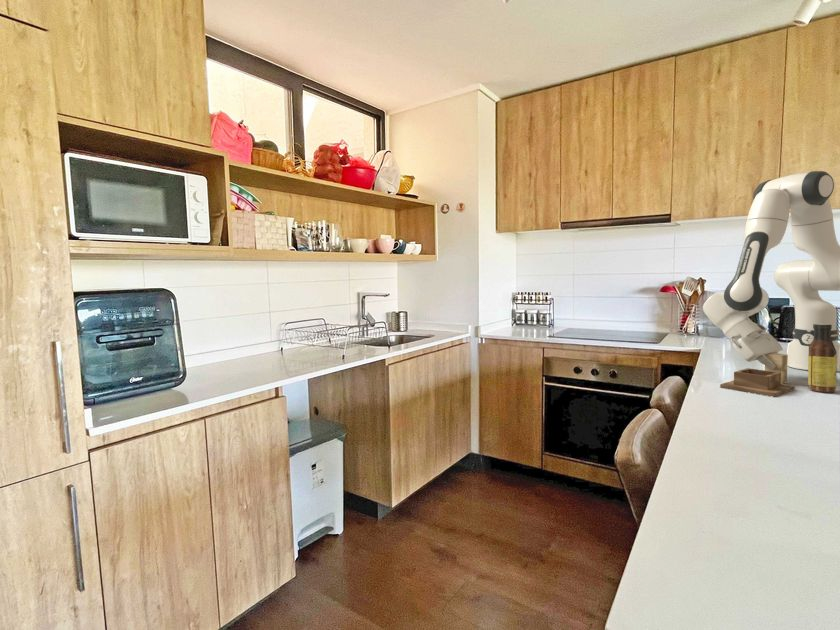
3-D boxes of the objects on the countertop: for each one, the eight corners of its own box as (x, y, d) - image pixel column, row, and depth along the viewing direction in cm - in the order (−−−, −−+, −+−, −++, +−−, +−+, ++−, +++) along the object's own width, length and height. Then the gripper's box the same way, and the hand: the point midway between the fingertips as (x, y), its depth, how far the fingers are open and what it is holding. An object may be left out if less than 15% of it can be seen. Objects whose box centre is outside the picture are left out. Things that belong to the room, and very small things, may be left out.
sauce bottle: (842, 393, 129) (845, 324, 127) (819, 393, 129) (823, 325, 127) (822, 387, 135) (825, 322, 134) (801, 388, 135) (803, 323, 134)
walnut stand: (741, 380, 146) (742, 365, 146) (794, 389, 134) (795, 373, 134) (720, 387, 139) (720, 371, 138) (774, 397, 127) (774, 379, 126)
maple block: (770, 379, 146) (771, 352, 145) (786, 382, 142) (787, 354, 142) (764, 381, 144) (765, 354, 143) (780, 384, 140) (781, 356, 139)
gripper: (737, 330, 142) (772, 365, 135) (765, 325, 153) (800, 357, 145) (721, 343, 146) (754, 377, 139) (750, 337, 157) (783, 368, 150)
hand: (778, 367), depth 142 cm, fingers closed on maple block, 4 cm apart
